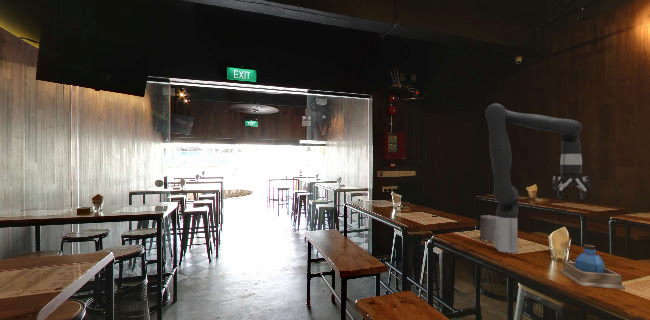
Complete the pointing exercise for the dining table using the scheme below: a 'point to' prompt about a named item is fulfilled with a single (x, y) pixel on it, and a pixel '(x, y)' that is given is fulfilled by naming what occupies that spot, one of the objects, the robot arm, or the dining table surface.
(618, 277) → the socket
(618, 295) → the dining table surface
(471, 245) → the dining table surface
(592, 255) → the perfume bottle
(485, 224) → the pillar candle
